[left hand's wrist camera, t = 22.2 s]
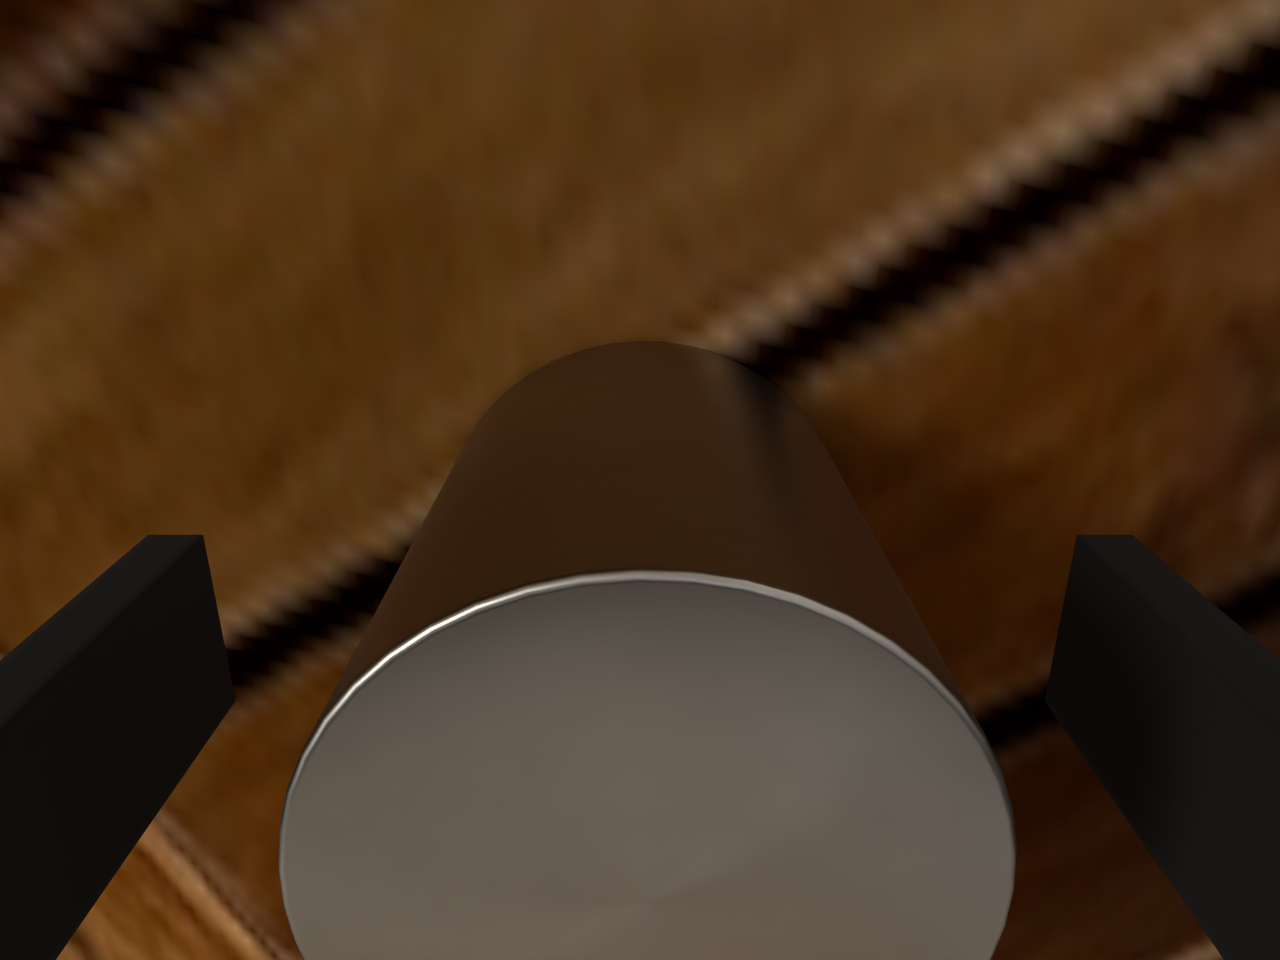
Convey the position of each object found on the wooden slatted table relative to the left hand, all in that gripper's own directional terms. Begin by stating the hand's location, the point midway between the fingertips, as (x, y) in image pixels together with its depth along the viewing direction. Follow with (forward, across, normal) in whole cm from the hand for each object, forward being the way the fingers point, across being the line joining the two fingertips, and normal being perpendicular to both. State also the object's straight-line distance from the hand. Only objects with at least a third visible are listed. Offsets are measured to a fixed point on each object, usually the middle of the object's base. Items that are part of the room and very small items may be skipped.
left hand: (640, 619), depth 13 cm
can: (+3, 0, 0) cm, 3 cm away
